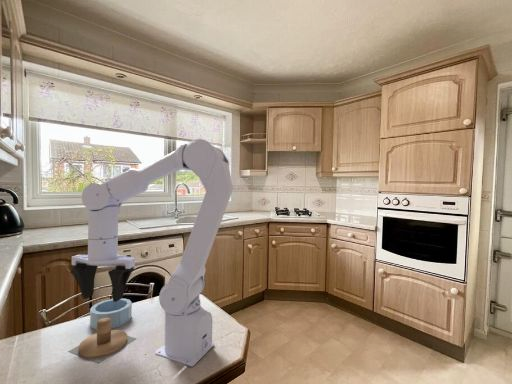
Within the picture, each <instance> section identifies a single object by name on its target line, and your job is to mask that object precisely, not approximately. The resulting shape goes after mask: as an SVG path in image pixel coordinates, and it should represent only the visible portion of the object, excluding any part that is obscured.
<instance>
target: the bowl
mask: <svg viewBox="0 0 512 384" xmlns="http://www.w3.org/2000/svg"><path fill="white" fill-rule="evenodd" d="M90 307H91V308H89V324H90V328H91V329H94V330H97V321H98V320H100V319H102V318H111V330H113V329H114V328H119V327H121V326H123V325H125V324H127V323H128V322H130V320H131V317H132V315H133V314H132V308H133V302H132V301H131V300H130V299H129V298H128V299H127V298H125V297H124V298H123V297H122V299H120V300H118V301H117V302H113V298H110V299H107V300H106V299H105V300H102V301H100V302H97V303H95V304H93V305H92V306H90Z"/></svg>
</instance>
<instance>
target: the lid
mask: <svg viewBox="0 0 512 384" xmlns="http://www.w3.org/2000/svg"><path fill="white" fill-rule="evenodd" d="M127 336H128V333H127V332H126V331H124V330H121V329H111V318H102V319H100V320H98V321H97V329H96V333H93V334H90V335H89V336H87V337H86V338H84V340H82V341H81V342H80V343H79V345H78V346H79V347H78V353H79V355H80V356H79V357H81V356H82V357H81V358H83V357H84V359H86V358H98V357H103V356H107V355H109V354H112V353H114V352H115V353H117V352H118V351H120V350H122V349H123V348H124V347H123V346H124V345H125V344H126V342H127ZM122 347H123V348H122ZM119 349H120V350H119ZM116 351H117V352H116ZM115 353H114V354H115ZM112 355H113V354H112Z"/></svg>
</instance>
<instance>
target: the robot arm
mask: <svg viewBox="0 0 512 384" xmlns="http://www.w3.org/2000/svg"><path fill="white" fill-rule="evenodd" d="M121 171H122V172H121V173H119V174H116V175H115V176H113V177H107V178H105V179H104V181H103V182H102V183H100V182H99V183H98V182H91V183H89V184H88V185H87V186H86V187H84V189H83V190H82V193H81V201H82V204H83V206H84V207H86V209H87V210H88V215H87V216H88V218H87V220H88V221H87V222H88V224H87V232H88V233H87V234H88V235H87V254H77V255H73V256H71V266H75V267H72V268H71V269H70V273H71V275H73V278H75V280H76V283H77V284H78V285H77V286H78V287H79V290H80V294H81V297H82V299H83V300H87V299H88V298H90V297H92V296H93V295H94V291H95V277H96V273H97V269H98V267H110V268H111V267H112V268H113V269H111V270H108V276H109V278H110V283H111V288H112V289H111V291H112V294H111V295H112V297H111V299H113V302H117V301H118V300H120V299H122V298H123V297H124V293H125V288H126V286H127V283H128V282H129V281H128V280H129V278H130V277H131V275H132V273H133V272H134V269H135V266H136V258H135V257H131V256H126V255H120V254H119V252H118V251H119V248H118V246H119V245H118V244H119V242H118V241H119V214H120V208H121V207H122V205H123V204H124V202H126V201H128V200H130V199H132V198H134V197H137V196H139V195H140V194H142V193H144V192H146V191H147V190H148V188H149V185H150V184H151V183H153V182H155V181H157V180H160V179H162V178H164V177H167V176H170V175H172V174H175V173H177V172H178V171H191V172H193V174H195V175H196V177H198V178H199V180H200V182H201V184H202V186H203V188H204V189H205V193H204V196H203V198H202V199H203V200H202V202H201V204H200V207H199V210H198V213H197V215H196V218H195V220H194V224H193V226H192V229H191V232H190V234H189V237H188V240H187V242H186V245H185V248H184V251H183V253H182V255H181V258H180V261H179V263H178V264H177V266H176V268H175V269H174V270H173V272H172V274H171V275H170V278H169V280H168V282H167V283H166V284H165V285H163V286H162V287H161V290H160V292H159V295H158V298H159V299H158V301H159V304H160V307H161V308H162V310H163V311H164V345H162V346H161V347H159V348H158V349H157V350H155V352H154V355H157V356H159V357H163V358H166V359H169V360H170V361H174V362H177V363H182V364H184V365H186V366H188V367H194V366H195V365H196V364H197V363H198V362H199V361H200V360H201V359H202V358H203V357H204V356H205V355H206V353H208V352H209V351H210V350H211V348H213V347H214V346H215V342H214V341H213V316H212V313H211V312H210V311H208V310H206V309H205V308H203V307H202V306H201V299H200V295H201V294H202V293H203V291H204V290H205V289H204V288H205V273H206V271H207V269H206V263H207V261H208V258H209V256H210V253H211V250H212V247H213V244H214V243H215V239H216V236H217V234H218V231H219V228H220V226H221V223H222V220H223V217H224V215H225V213H226V209H227V208H228V205H229V202H230V199H231V196H232V194H233V190H234V188H233V181H232V175H231V171H230V161H229V159H228V158H227V156H226V154H225V153H224V151H223V150H222V149H221V148H219V147H216V146H214V145H213V144H211V143H210V142H209V141H207V140H205V139H204V138H203V139H202V138H197V139H193V140H190V141H189V142H188V143H184V144H181V145H179V146H178V147H177V148H176V149H175V150H174V151H172V152H171V151H170V153H167V155H164V156H162V157H161V158H160V159H158V160H155V161H154V162H152V163H149V165H147V166H146V167H144V168H142V169H138V168H136V167H126V168H123V169H122V170H121ZM93 297H94V296H93Z"/></svg>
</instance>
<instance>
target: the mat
mask: <svg viewBox="0 0 512 384" xmlns="http://www.w3.org/2000/svg"><path fill="white" fill-rule="evenodd" d="M135 340H137V338H136V337H132V336H130V335H127V342H126V344H125V345H124V346H123V347H122V348H121V349H123V348H124V347H126V346H128V345H129V344H131V343H133V342H134V341H135ZM78 347H79V345H77V346H76V347H73V348H72V349H71V348H70V350H68V351H67V352H68V353H71V354H73V355H76V356H79V357H81V358H84V357H82V356H80V355H79V353H78ZM121 349H119V350H118V351H120V350H121ZM118 351H116V352H114V353H112V354H109V355H107V356H103V357H98V358H84V359H85V360H89V361H91V362H94V363H96V364H100V363H101V362H103V361H104V360H106V359H108V358H109V357H110V356H112V355H114V354H115V353H117V352H118Z"/></svg>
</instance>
